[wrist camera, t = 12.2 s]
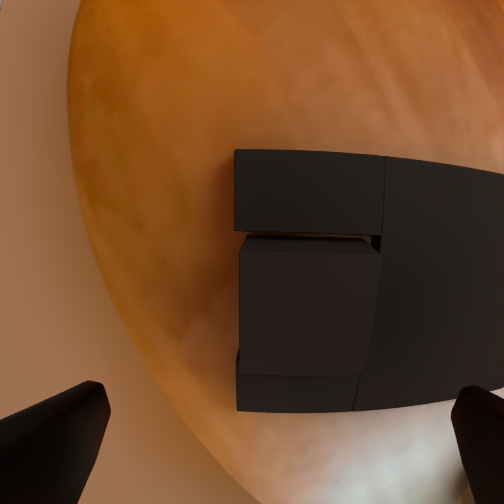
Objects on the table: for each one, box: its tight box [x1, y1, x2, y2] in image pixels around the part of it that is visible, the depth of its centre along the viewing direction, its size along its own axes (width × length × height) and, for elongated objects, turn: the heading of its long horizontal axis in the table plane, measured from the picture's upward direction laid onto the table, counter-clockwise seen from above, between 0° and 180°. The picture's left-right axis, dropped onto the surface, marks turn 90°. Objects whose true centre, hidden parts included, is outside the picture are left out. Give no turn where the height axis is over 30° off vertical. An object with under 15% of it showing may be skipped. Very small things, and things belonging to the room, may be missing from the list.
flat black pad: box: [234, 149, 504, 413], centre depth 16 cm, size 20×15×2 cm
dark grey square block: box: [239, 235, 382, 376], centre depth 16 cm, size 6×6×4 cm
